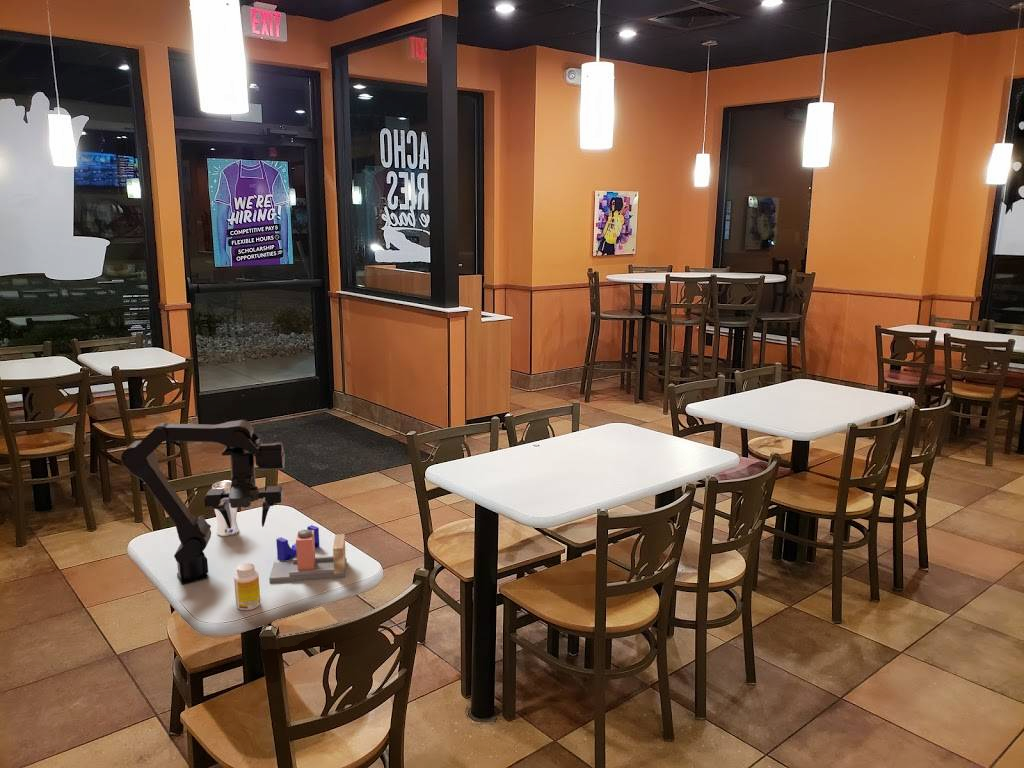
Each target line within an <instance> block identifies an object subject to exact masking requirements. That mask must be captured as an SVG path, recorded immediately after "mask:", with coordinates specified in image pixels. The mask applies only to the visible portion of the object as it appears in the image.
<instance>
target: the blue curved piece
mask: <svg viewBox="0 0 1024 768" xmlns="http://www.w3.org/2000/svg"><path fill="white" fill-rule="evenodd" d="M306 530H314V539H315V549H317V548H320V547H321V546H320V532H319V531H320V529H319V527H318V526H316V525H312V524H311V525H308V526H307V528H306ZM275 542H276V553H277V559H278V560H279V559H280V560H279V561H281V562H288V561H289V560H293V559H294V558H297V550H296V542H295V543H294V544H292V545H291V546H290V544H289V540H288V539H286V538H284V537H282V536H281V537H278V538H276V541H275Z"/></svg>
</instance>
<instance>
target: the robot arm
mask: <svg viewBox="0 0 1024 768" xmlns="http://www.w3.org/2000/svg"><path fill="white" fill-rule="evenodd" d="M164 442H194V443H195V442H201V443H215V444H219V445H222V446H224V447H225V448H224V449H222V452H221V456H229V460H230V472H231V476H230V477H231V480H230V481H231V482H232V484H231V487H230V493H225V491H224V489H212V488H210V489H209V490H208V491H207V493H206V494H205V496H204V507H206V508H208V507H212V509H213V510H214V509H217V510H219V511H220V512H221V514H222V515H223V517H224V519H225V521H226V523H227V525H228V527H229V528H231V515H230V507H229V500H230V506H231V508H237V509H238V508H244V509H245V508H246V509H247V508H249V507H251V504H252V502H253V503H254V502H257V501H259V500H260V499H263V502H262V505H261V507H262V511H261V527H264V526H265V523H266V520H267V516H268V513H269V510H270V509H271V508H270V507H273V506H275V504H280V503H282V502H283V498H284V487H282V485H274V486H273V485H271V486H268V485H267V486H266V490H259V487H258V486H256V485H257V483H256V469H255V468H256V467H257V468H258V469H260V470H262V471H263V470H264V471H265V470H284V469H285V462H286V461H285V460H286V454H285V451H284V446H283V442H281V441H278V442H277V441H276V442H271V443H269V442H268V443H263V440H262V439H261V438H260V437H259V435H258V434H257V433H256V432H255V431H254V427H253V425H252V424H251V423H250V421H248V420H246V419H238V420H231V421H226V422H222V423H217V424H207V423H206V424H203V423H202V424H200V423H198V424H197V423H170V422H169V423H168V422H160V423H158V425H157V426H155V427H154V428H153V429H152V431H150V432H149V433H148V434H147V435H146V436H145V437H144V438H142V439H141V440H140V439H139V440H135V441H133V442H132V443H130V445H128V446H127V447H126V448H125V449H124V450H123V452H122V453H121V457H120V462H121V464H122V465H123V466H124V468H125V469H127V470H128V471H129V473H131V474H132V475H133V476H134V477H136V478H138V479H140V480H142V482H143V483H144V484H145V485H146V487H147V488H148V489H149V491H150V492H151V494H152V495H153V496H154V498H155V499H156V501H157V502H158V504H160V506H161V507H162V508H163V510H164V512H165V513H166V515H167V516H168V517H169V519H170V520H171V521H172V523H173V524H174V526H175V527H176V528H175V529H176V533H177V537H178V540H179V541H180V544H179V546H178V548H177V550H176V551H175V553H174V555H173V556H174V559H175V562H176V564H177V573H176V576H177V578H178V580H179V581H180V583H181V585H185V584H186V585H187V584H189V583H194V582H198V581H201V580H205V579H208V578H209V574H208V573H209V564H208V558H207V556H206V554H205V552H204V551H205V549H206V548H207V546H208V543H209V542H210V539H211V537H212V531H211V528H212V525H210V524H209V523H208V522H207V521H206V518H205V516H204V515H203V514H201V515H200V516H196V515H194V514H192V512H190V510H189V508H188V507H187V506H186V504H185V503H184V501H183V500H182V498H181V497H180V496H179V494H178V493H177V492H176V490H175V489H174V487H173V486H172V485H171V483H170V482H169V480H168V479H167V477H166V476H165V475H164V474H163V472H162V471H161V468H160V465H159V461H158V457H157V455H156V453H155V450H156V449H158V447H159V446H161V445H162V444H163V443H164ZM255 465H256V467H255Z"/></svg>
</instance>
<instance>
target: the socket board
mask: <svg viewBox="0 0 1024 768" xmlns="http://www.w3.org/2000/svg"><path fill="white" fill-rule="evenodd" d="M315 557H316V562H315V567H314V570H300V571H298V566H297V557H294V558H292V561H285V562H284V561H279V562H273V564H272V569H271V571H270V574H269V579H268V580H269V583H281V582H283V583H284V582H294V581H295V582H296V581H310V580H323V579H322V578H328V579H334V578H333V577H343V578H346V572H347V571H346V570H347V564H348V563H347V560H348V559H347V558H346V560H345V568H344V573H339V574H334V561H333V555H329V556H328V555H327V556H315ZM330 577H331V578H330Z"/></svg>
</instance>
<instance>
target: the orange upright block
mask: <svg viewBox="0 0 1024 768" xmlns="http://www.w3.org/2000/svg"><path fill="white" fill-rule="evenodd" d="M295 543H296V550H297V557H296V558H297V566H298V571H300V570H314V567H315V562H316V557H317V556H316V548H315V539H314V530H307V529H302V530H298V531H297V534H296V538H295Z"/></svg>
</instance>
